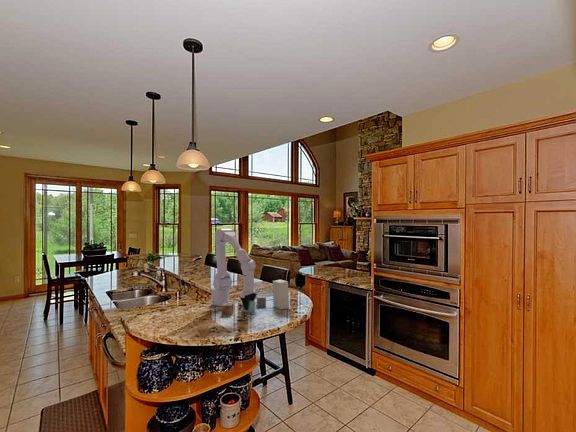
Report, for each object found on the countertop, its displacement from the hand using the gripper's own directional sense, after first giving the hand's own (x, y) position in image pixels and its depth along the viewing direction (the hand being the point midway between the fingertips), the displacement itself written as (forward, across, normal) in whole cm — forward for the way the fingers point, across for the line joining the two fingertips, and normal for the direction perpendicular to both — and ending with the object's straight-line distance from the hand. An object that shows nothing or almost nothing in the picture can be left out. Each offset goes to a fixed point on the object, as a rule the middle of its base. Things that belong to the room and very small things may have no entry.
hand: (248, 308), depth 161 cm
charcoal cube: (+2, +12, -2) cm, 12 cm away
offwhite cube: (+2, +11, +7) cm, 13 cm away
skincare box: (+2, +12, -14) cm, 19 cm away
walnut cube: (+2, -8, +8) cm, 11 cm away
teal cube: (+1, 0, 0) cm, 1 cm away
